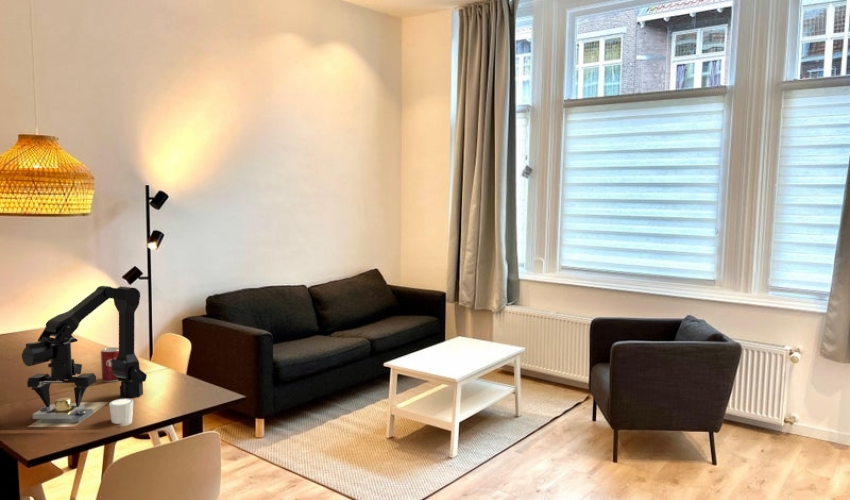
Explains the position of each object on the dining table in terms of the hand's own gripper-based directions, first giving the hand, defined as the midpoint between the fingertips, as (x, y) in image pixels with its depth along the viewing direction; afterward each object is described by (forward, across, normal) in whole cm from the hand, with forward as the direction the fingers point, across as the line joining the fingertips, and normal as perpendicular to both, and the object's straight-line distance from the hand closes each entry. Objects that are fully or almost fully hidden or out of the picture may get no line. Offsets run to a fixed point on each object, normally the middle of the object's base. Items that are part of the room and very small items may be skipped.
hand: (63, 406), depth 194 cm
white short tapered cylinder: (+5, -19, +2) cm, 20 cm away
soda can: (+5, +5, -44) cm, 45 cm away
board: (+5, 0, -4) cm, 6 cm away
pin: (+4, 0, 0) cm, 4 cm away
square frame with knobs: (+5, 0, 0) cm, 5 cm away
